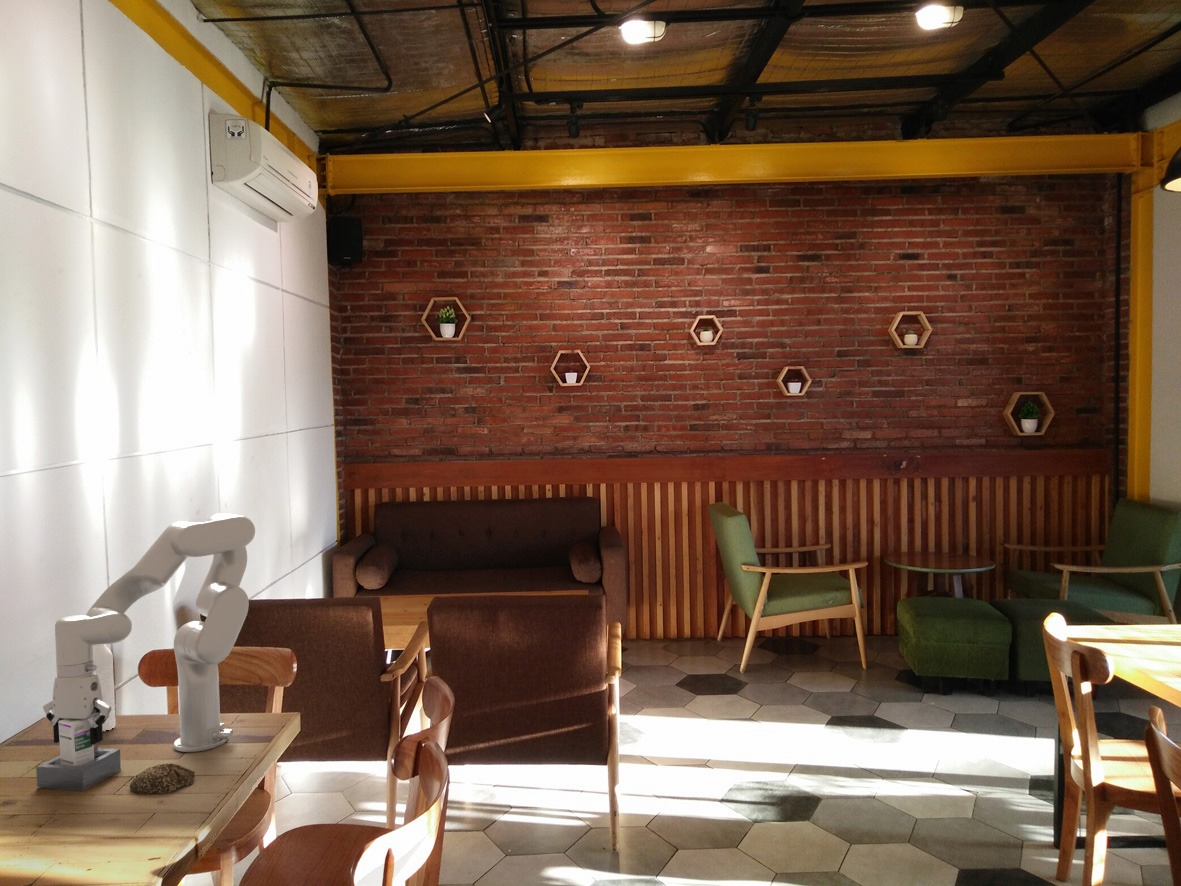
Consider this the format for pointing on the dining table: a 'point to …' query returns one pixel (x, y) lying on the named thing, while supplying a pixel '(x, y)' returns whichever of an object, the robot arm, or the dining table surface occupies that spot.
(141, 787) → the bread roll
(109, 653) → the water bottle
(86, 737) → the syrup box
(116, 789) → the dining table surface
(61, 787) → the socket
